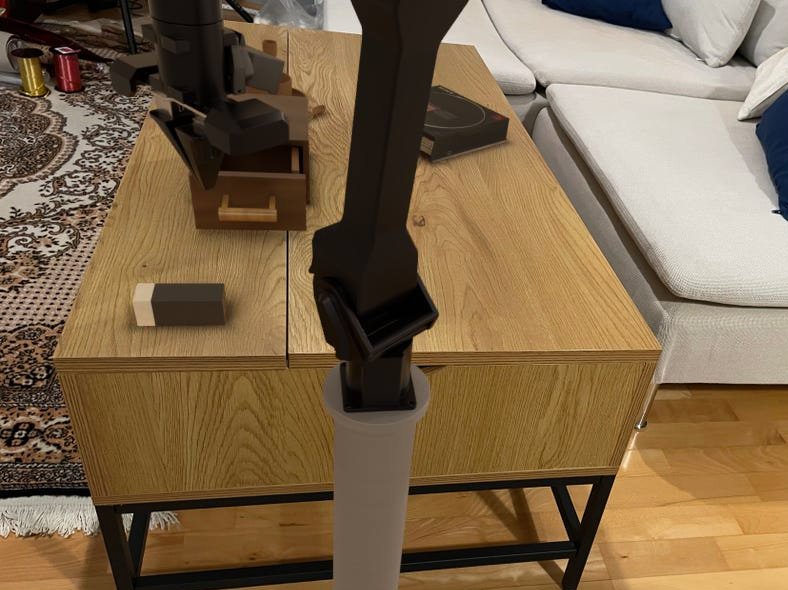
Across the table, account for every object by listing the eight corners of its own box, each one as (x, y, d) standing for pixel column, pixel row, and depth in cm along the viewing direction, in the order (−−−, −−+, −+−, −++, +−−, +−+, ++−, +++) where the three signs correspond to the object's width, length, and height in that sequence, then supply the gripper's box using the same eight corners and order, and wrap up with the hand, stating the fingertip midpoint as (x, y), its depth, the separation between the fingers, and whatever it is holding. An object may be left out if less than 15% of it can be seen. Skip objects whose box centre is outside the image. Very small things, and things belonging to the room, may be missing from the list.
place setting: (199, 105, 110) (194, 66, 107) (265, 72, 126) (263, 37, 122) (301, 131, 108) (299, 93, 104) (355, 94, 123) (356, 59, 120)
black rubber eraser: (225, 325, 70) (222, 300, 68) (137, 326, 68) (132, 300, 66) (227, 307, 72) (224, 283, 70) (142, 308, 70) (137, 283, 68)
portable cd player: (360, 124, 113) (361, 100, 111) (437, 107, 124) (440, 84, 121) (429, 163, 105) (432, 138, 103) (505, 142, 116) (509, 118, 113)
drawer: (307, 252, 80) (306, 198, 76) (191, 251, 77) (183, 194, 73) (304, 180, 94) (303, 131, 90) (206, 177, 91) (199, 125, 87)
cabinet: (310, 204, 91) (309, 140, 86) (198, 201, 88) (189, 134, 82) (307, 156, 102) (306, 96, 96) (208, 152, 98) (201, 90, 93)
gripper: (336, 35, 60) (336, 201, 70) (203, -20, 68) (219, 137, 78) (225, 53, 53) (242, 236, 62) (90, -10, 60) (123, 161, 70)
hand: (207, 187), depth 68 cm, fingers closed
